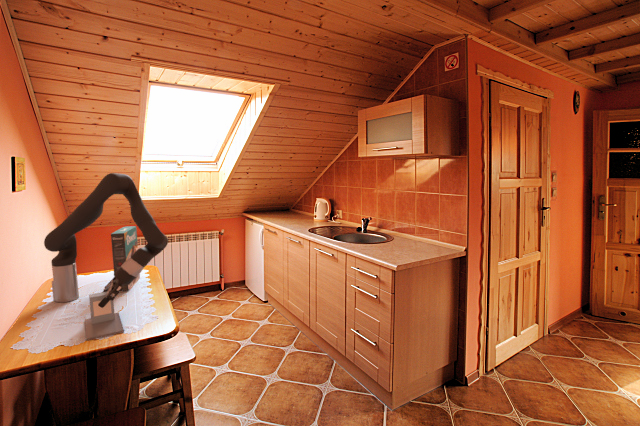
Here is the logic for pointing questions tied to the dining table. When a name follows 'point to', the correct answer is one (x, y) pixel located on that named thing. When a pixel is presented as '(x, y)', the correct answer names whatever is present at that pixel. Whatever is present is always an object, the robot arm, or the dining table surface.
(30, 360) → the dining table surface
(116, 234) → the cake mix box
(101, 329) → the slate board
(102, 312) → the slab
